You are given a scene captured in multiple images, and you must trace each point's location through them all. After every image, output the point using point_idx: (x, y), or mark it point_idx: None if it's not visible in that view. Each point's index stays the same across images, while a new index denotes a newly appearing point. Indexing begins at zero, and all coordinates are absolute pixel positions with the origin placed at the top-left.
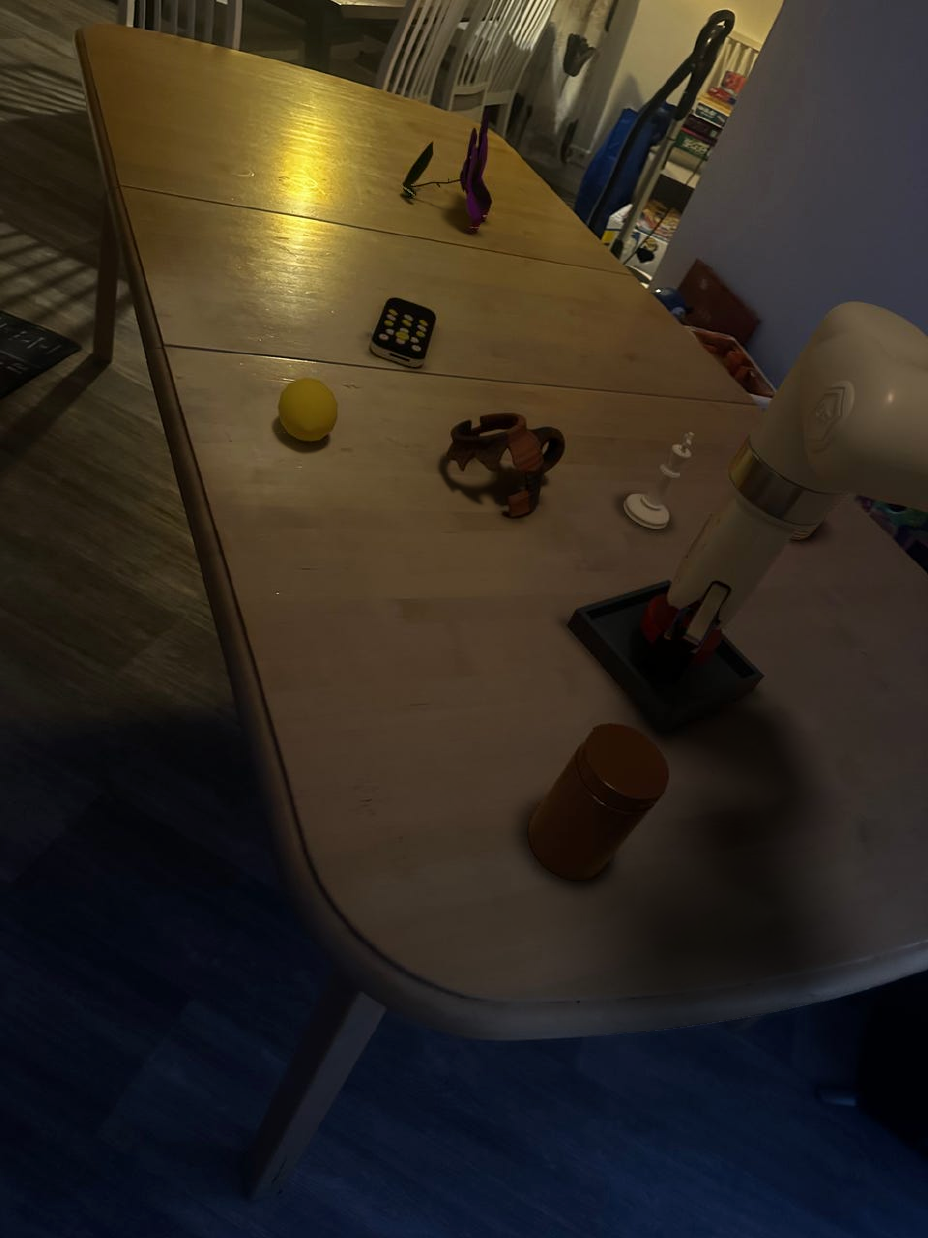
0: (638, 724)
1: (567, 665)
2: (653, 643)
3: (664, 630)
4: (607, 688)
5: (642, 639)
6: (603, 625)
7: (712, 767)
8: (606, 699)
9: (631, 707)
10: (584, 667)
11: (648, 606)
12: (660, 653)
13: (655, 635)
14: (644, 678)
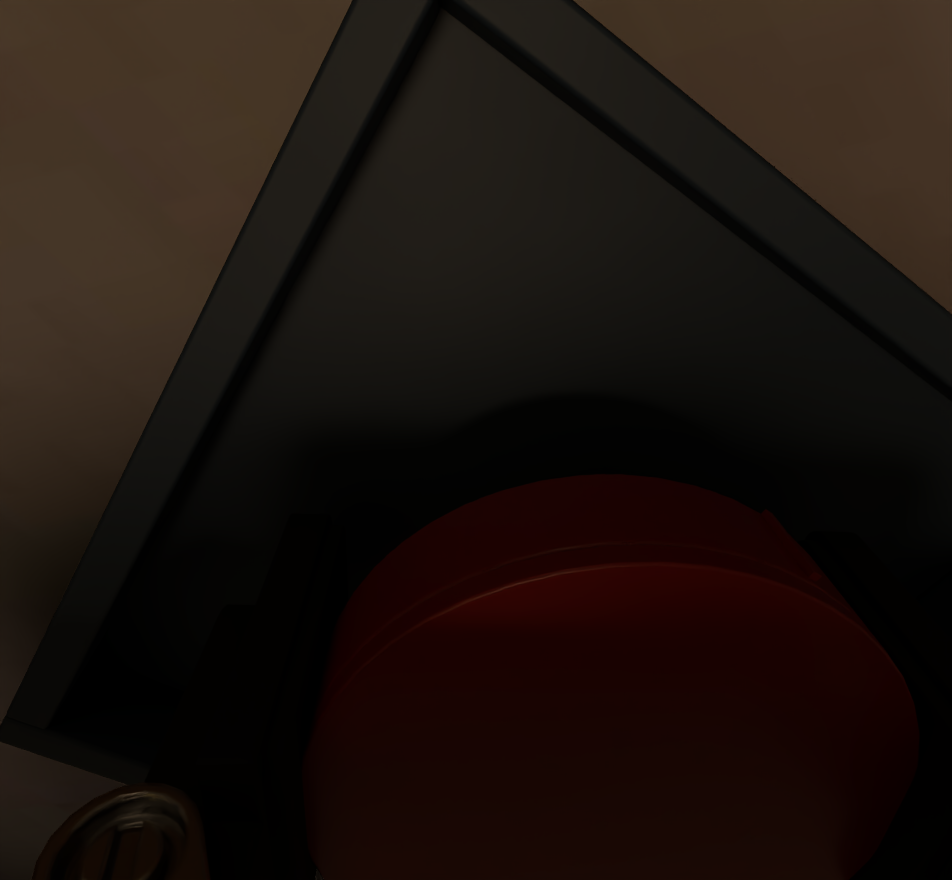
0: (12, 550)
1: (34, 66)
2: (259, 639)
3: (258, 775)
4: (93, 363)
5: (595, 459)
6: (562, 205)
7: (87, 802)
8: (9, 378)
9: (85, 501)
10: (127, 188)
11: (601, 563)
12: (191, 697)
13: (345, 642)
14: (120, 576)
